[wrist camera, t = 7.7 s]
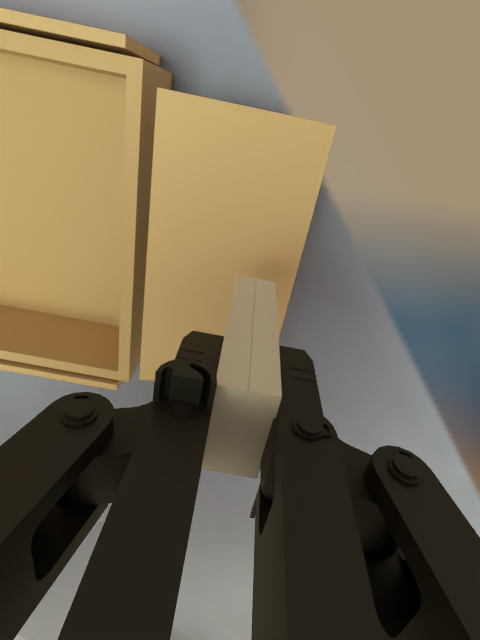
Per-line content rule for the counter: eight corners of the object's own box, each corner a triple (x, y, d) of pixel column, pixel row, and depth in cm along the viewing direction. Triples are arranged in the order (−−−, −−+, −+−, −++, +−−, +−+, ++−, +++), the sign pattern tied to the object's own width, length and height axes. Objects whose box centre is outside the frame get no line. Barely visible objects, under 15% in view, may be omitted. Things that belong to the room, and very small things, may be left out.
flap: (139, 379, 20) (264, 390, 21) (157, 87, 13) (337, 125, 15) (140, 374, 20) (263, 385, 21) (158, 87, 14) (334, 125, 15)
